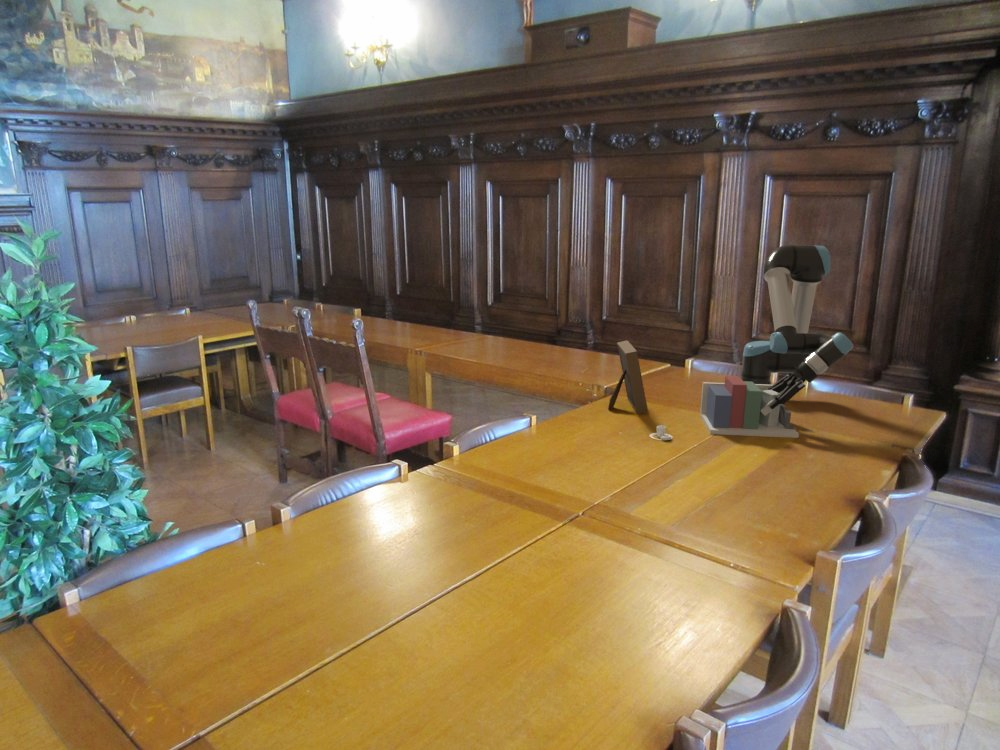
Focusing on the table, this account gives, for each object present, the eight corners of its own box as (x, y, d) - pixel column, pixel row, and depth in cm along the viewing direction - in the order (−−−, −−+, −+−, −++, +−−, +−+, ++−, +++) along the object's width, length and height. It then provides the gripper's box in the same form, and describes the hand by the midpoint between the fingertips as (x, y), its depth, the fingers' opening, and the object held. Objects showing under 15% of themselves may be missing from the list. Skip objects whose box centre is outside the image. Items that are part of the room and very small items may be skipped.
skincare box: (757, 421, 246) (760, 390, 243) (767, 420, 247) (771, 389, 244) (768, 427, 240) (771, 394, 237) (778, 426, 242) (782, 393, 239)
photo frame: (637, 399, 281) (641, 340, 275) (647, 414, 260) (651, 351, 254) (602, 398, 282) (605, 340, 276) (609, 413, 261) (612, 350, 255)
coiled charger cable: (673, 443, 229) (673, 431, 228) (649, 441, 231) (649, 430, 230) (672, 434, 237) (672, 424, 237) (649, 433, 239) (649, 422, 238)
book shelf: (700, 416, 258) (703, 372, 254) (780, 419, 255) (785, 374, 250) (710, 434, 237) (714, 386, 233) (798, 437, 234) (804, 389, 230)
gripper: (828, 382, 228) (773, 425, 234) (808, 368, 248) (758, 408, 254) (813, 367, 227) (759, 410, 233) (794, 354, 247) (745, 394, 253)
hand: (759, 409), depth 243 cm, fingers open, 8 cm apart
